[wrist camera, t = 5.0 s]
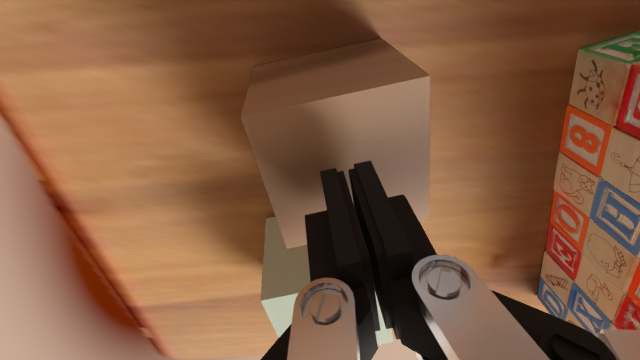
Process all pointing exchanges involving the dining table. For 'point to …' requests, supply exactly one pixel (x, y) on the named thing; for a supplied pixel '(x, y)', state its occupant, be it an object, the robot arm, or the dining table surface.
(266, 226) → the block seven
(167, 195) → the dining table surface
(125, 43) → the dining table surface
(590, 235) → the stack of blocks
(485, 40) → the dining table surface
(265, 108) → the blank block
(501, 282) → the dining table surface
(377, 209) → the robot arm
